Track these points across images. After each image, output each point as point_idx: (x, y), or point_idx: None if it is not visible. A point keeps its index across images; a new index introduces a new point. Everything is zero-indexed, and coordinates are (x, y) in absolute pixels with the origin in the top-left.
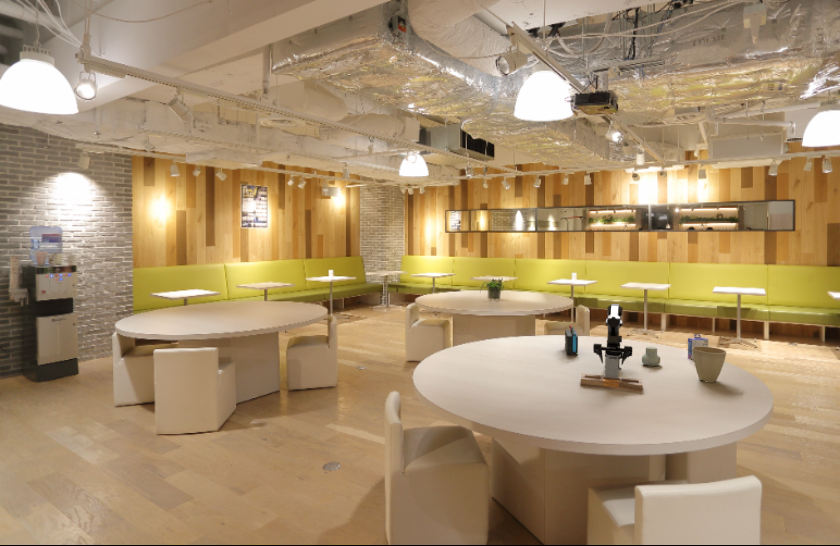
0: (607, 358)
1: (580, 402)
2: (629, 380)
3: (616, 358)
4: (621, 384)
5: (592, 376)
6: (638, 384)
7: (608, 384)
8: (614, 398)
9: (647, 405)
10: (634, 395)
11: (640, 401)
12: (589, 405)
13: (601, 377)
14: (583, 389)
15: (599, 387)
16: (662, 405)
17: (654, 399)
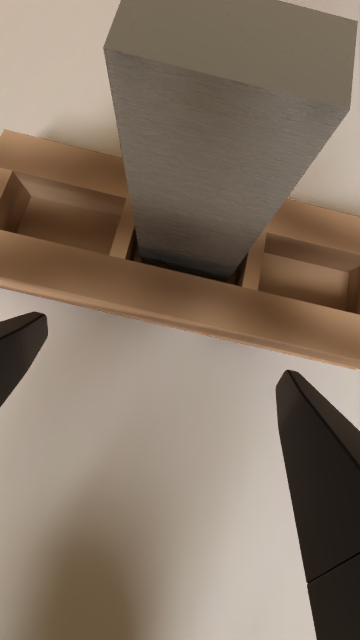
0: (319, 14)
1: (357, 32)
2: (56, 245)
3: (153, 18)
4: None
5: (317, 305)
6: (28, 143)
7: None
8: None
9: (78, 11)
10: (94, 124)
11: (92, 51)
12: (323, 6)
13: (257, 273)
14: (345, 190)
15: None
16: (6, 12)
17: (9, 77)
